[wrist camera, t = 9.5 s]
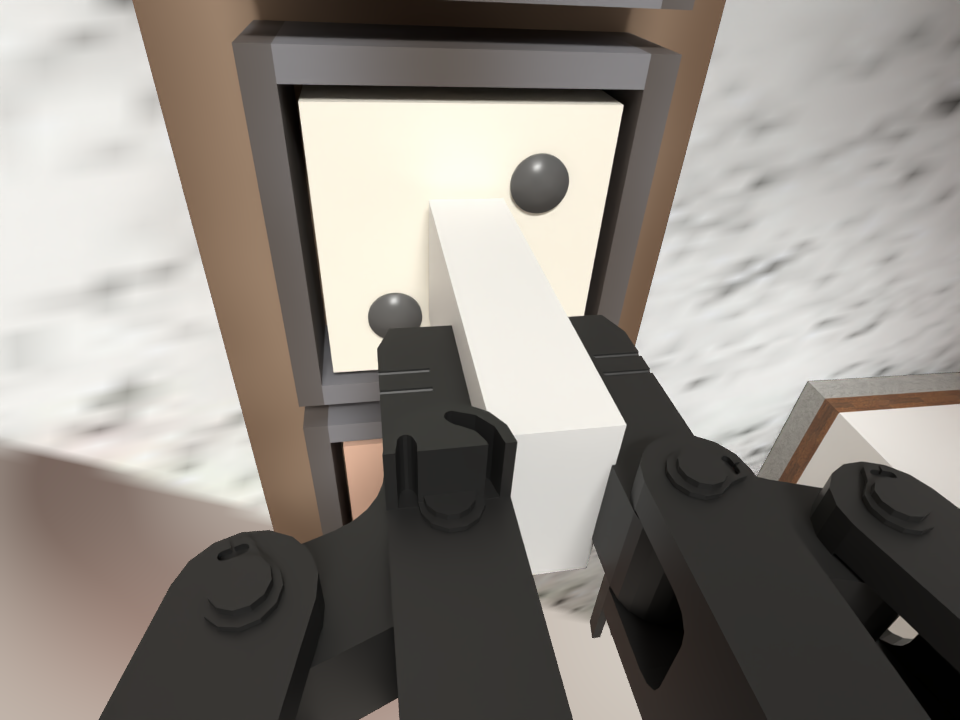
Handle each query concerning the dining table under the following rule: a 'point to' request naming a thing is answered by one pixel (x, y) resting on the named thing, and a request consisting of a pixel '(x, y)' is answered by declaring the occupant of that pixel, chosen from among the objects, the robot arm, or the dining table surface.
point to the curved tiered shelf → (874, 434)
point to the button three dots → (446, 191)
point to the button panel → (286, 194)
